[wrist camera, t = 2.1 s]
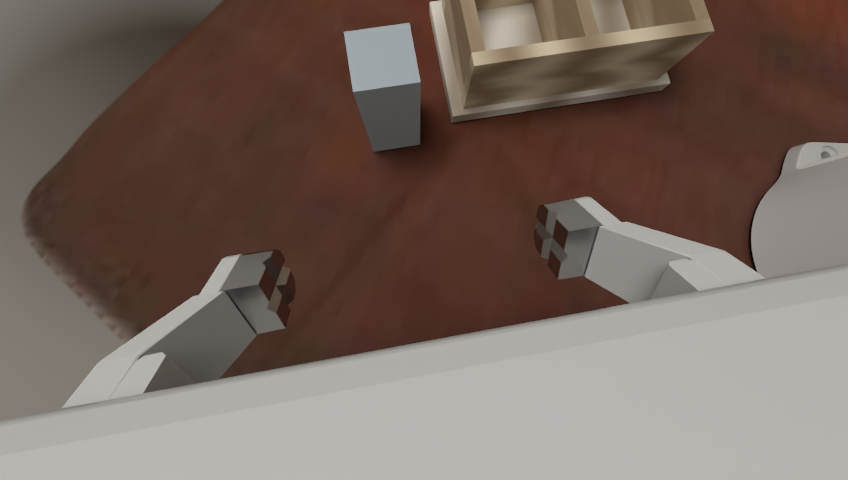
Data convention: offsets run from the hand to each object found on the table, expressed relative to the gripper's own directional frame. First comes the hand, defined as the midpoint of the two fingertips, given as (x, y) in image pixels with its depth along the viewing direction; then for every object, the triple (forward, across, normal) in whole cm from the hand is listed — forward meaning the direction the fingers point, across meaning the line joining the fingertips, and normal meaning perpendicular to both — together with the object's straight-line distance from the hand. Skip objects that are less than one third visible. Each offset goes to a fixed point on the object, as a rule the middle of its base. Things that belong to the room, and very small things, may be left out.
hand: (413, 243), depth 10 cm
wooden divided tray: (+22, -15, -2) cm, 27 cm away
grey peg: (+19, 0, +2) cm, 19 cm away
